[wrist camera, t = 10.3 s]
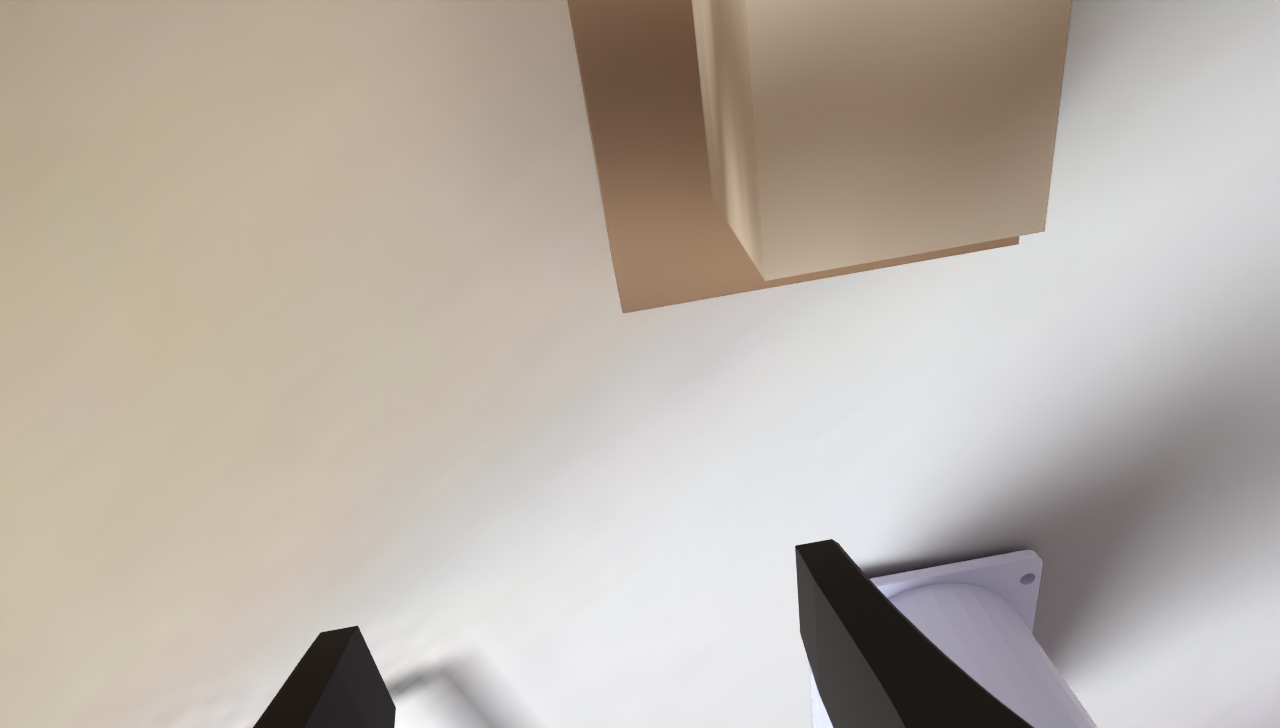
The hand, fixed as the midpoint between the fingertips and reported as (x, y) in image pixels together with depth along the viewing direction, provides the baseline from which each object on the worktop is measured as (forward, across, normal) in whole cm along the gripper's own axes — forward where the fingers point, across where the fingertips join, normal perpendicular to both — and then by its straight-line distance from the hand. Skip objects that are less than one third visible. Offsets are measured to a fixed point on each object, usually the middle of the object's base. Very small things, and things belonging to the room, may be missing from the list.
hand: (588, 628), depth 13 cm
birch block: (+6, -6, -7) cm, 11 cm away
